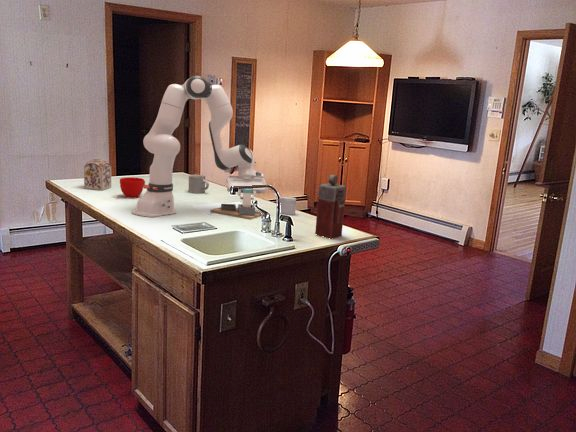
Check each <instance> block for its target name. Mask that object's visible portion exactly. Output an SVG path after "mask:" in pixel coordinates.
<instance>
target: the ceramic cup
mask: <svg viewBox="0 0 576 432" xmlns="http://www.w3.org/2000/svg"><path fill="white" fill-rule="evenodd" d="M119 185H120V186H119V187H120V190H121V192H122V194H123V195H124V197H125V198H128V199H135V198H138V197H140V195H142V193H143V189H144V188H143V186H144V185H146V180H145V179H144V178H140V177H130V176H129V177H121V178H119Z"/></svg>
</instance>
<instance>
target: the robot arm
mask: <svg viewBox="0 0 576 432" xmlns="http://www.w3.org/2000/svg"><path fill="white" fill-rule="evenodd" d="M198 100H203V101H205V102H206V105H207V106H208V107H207V108H208V110H209V112H210V121H209V123H208V130H209V137H210V141H211V145H212V150H213V156H214V163H215V166H216V167H217V168H218V169H220V170H221V171H227V170H229V169H231V168H233V167H238V171H237V172H238V175H229V176H227V177H226V183H227V185H226V186H227V187H226V191H227V192H228V193H230V192H229V188H230V187H231V186H252V185H266V186H267V182H266V179H265V177H264V175H265V174H264V173H263V172H258V171H256V170H255V167H256V162H255V159H256V158H255V156H254V155H255V154H254V152H253V151H252V149H250V148H248V147H247V146H245V145H244V144H238V145H235V146H233V147H230V148H227V149H224V148H223V142H222V140H221V139H222V138H221V131H222V130H223V128H224V127H226V125H228V124H229V122H230V121H231V120H232V118H233V116H234V115H233V114H234V112H233V111H234V110H233V107H232V104H231V102H230V99H229V97H228V95H227V93H226V91H225V90H224V87H223V86H221V85H220V84H211V83H210V82H209V81H208V80H207V79H205V78H204V77H203V76H201V75H193V76H192V75H191V76H190V77H189V78H188V79H187V80H186V81H185V82H184V83H183V84H177V83H172V84H169V85H168V86H167V88H166V90H165V92H164V94H163V97H162V99H161V103H160V107H159V110H158V113H157V116H156V119H155V121H154V123H153V125H152V127H151V128H150V130H149V132H148V133H147V134H146V135H145V136H144V137H143V147H144V148H145V149H146V150H147V151H148V152H149V153H150V154H154V155H153V160H152V163H151V165H150V166H149V182H148V184H145V185H144V186H143V189H146V192H145V193H144V194H143V195H141V197H140V198H139V199H138V200H137V202H136V209H133V210H132V211H131V214H133V215H137V216H140V217H149V218H156V217H160V216H161V217H163V216H167V215H173V214H174V215H175V214H176V213H177V211H176V209H175V208H176V207H175V198H174V194H173V191H174V183H173V168H174V165H175V163H174V162H175V161H176V157H177V155H178V154H179V153H180V151H181V143H180V140H178V139H177V138H176V137H174V135H173V133H174V131H175V130H176V129H177V128H178V127H179V125H180V123H181V119H182V115H183V113H184V109H185V105H186V102H188V101H198ZM266 193H267V188H253V189H252V191H251V201H252V200H254V197H255V196H256V194H262V195H263V194H266ZM237 195H238V197H239V200H243V189H239V190H238V192H237Z"/></svg>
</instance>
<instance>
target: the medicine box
mask: <svg viewBox="0 0 576 432" xmlns="http://www.w3.org/2000/svg"><path fill="white" fill-rule="evenodd" d="M280 202H281V213H284V214H283V215H287V216H288V215H289V216H294V215H295V214H296V207H297V206H296V205H297V204H296V203H297V198H296V197H289V196H281V197H280V198H279V203H280Z"/></svg>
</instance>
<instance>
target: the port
mask: <svg viewBox="0 0 576 432" xmlns="http://www.w3.org/2000/svg"><path fill="white" fill-rule="evenodd" d="M237 205H238V206H237V208H238V214H239V215H247V216H255V211H256V207H255V204H251V207H242V203H238V204H237Z"/></svg>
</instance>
